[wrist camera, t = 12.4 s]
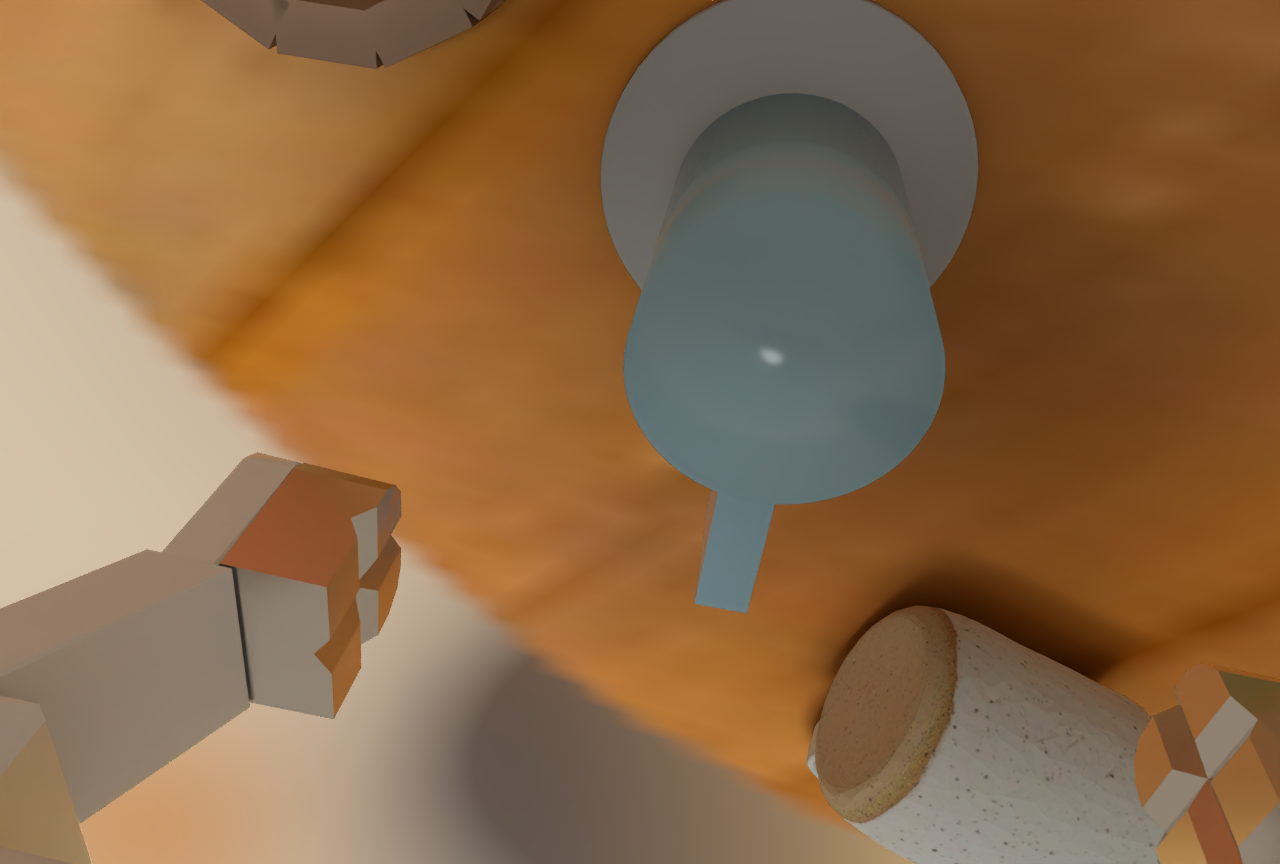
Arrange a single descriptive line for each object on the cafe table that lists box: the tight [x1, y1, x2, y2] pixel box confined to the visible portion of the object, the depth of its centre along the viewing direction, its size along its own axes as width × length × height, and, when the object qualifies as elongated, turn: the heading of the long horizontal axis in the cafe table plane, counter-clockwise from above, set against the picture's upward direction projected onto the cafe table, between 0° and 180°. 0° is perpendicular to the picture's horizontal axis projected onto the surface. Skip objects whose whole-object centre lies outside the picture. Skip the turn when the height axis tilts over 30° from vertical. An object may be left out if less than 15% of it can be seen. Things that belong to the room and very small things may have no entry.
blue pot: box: [623, 93, 946, 613], centre depth 21 cm, size 10×6×8 cm, turn 173°
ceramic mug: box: [807, 605, 1165, 864], centre depth 30 cm, size 11×8×8 cm
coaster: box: [601, 0, 978, 290], centre depth 23 cm, size 9×9×1 cm
